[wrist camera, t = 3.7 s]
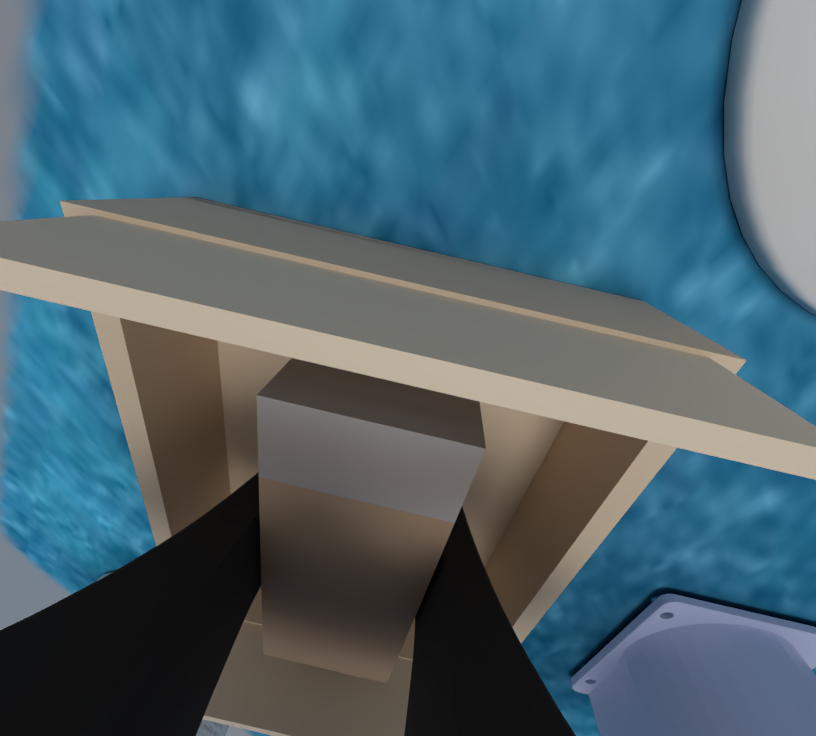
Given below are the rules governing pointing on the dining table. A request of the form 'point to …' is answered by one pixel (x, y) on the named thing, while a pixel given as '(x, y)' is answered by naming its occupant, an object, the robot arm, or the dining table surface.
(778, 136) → the plate
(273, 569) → the brown rectangular block
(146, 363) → the wooden tray
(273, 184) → the dining table surface
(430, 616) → the robot arm
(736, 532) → the dining table surface
